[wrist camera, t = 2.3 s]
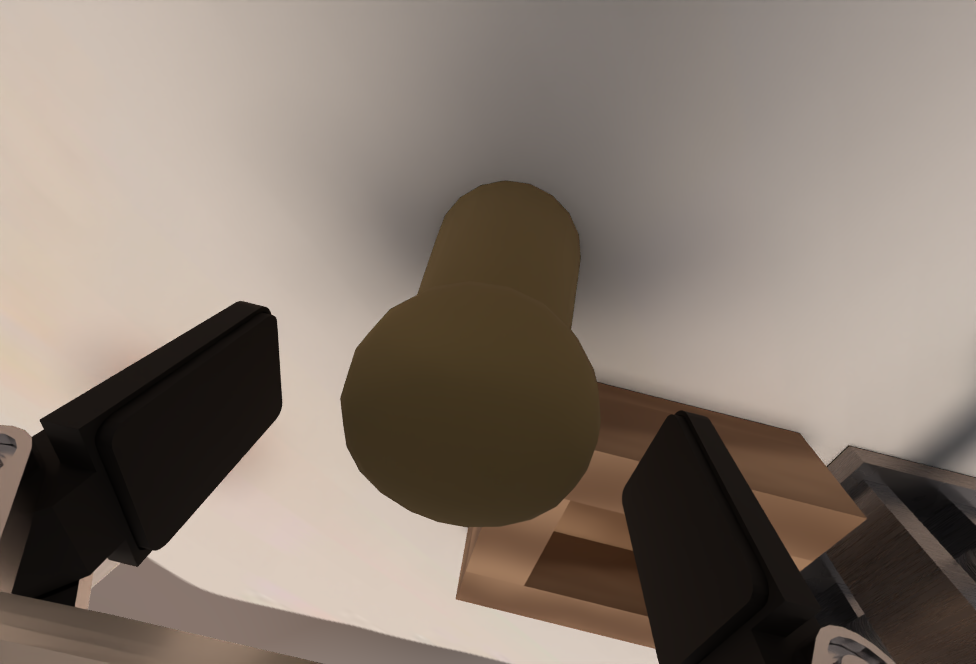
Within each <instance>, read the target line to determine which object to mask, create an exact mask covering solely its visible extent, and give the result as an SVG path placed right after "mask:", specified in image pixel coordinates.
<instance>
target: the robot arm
mask: <svg viewBox="0 0 976 664" xmlns="http://www.w3.org/2000/svg"><path fill="white" fill-rule="evenodd" d="M281 408H282V391H281V375H280V359H279V344H278V328H277V319H276V317H275V316H273V315H271V312H270V310H269V309H268V308H267V307H264V306H260V305H256V304H252V303H248V302H244V301H239V302H236V303H234V304H233V305H231V306H229V307H228V308H226V309H224V310H223V311H221V312H219V313H218V314H216V315H214V316H213V317H211V318H209V319H207V320H206V321H204V322H202V323H201V324H199V325H197V326H196V327H194V328H192V329H191V330H189V331H187V332H186V333H184V334H182V335H181V336H179V337H177V338H176V339H174V340H172V341H171V342H169V343H167V344H166V345H164V346H162V347H161V348H159V349H157V350H156V351H154V352H152V353H151V354H149V355H147V356H146V357H144V358H142V359H141V360H139V361H137V362H135V363H134V364H132V365H130V366H129V367H127V368H125V369H124V370H122V371H120V372H119V373H117V374H115V375H114V376H112V377H110V378H109V379H107V380H105V381H104V382H102V383H100V384H99V385H97V386H95V387H94V388H92V389H90V390H89V391H87V392H85V393H84V394H82V395H80V396H79V397H77V398H75V399H74V400H72V401H70V402H69V403H67V404H65V405H63V406H62V407H60V408H58V409H57V410H55V411H53V412H52V413H50V414H48V415H47V416H45V417H43V418H42V419H40V422H41V424H42V426H43V428H44V430H42V431H41V432H39V433H37V434H36V435H34V436H33V437H31V436H30V435H29V434H28V433H27V432H26V431H25V430H23V429H20V428H17V427H14V426H5V425H0V664H321V663H318V662H314V661H309V660H305V659H301V658H297V657H292V656H288V655H284V654H279V653H275V652H271V651H267V650H262V649H258V648H254V647H249V646H245V645H240V644H236V643H232V642H228V641H223V640H219V639H215V638H210V637H206V636H202V635H197V634H193V633H189V632H184V631H180V630H175V629H171V628H167V627H163V626H158V625H154V624H149V623H145V622H141V621H137V620H132V619H128V618H124V617H119V616H115V615H110V614H106V613H101V612H96V611H92V610H88V606H89V599H90V593H91V586H92V579H93V573H94V571H95V570H96V569H97V568H98V567H99V566H100V565H101V564H102V563H103V562H104V561H105V560H106V559H107V558H108V560H111V561H115V562H120V563H124V564H128V565H132V566H136V567H138V566H139V565H140V564H141V563H142V561H143V560H144V559H145V558H146V557H147V556H148V555H149V554H150V553H151V551H152V550H155V551H156V550H159V549H161V548H162V547H163V546H165V545H166V544H167V543H168V542H169V541H170V540H171V538H172V537H173V536H174V535H175V534H176V533H177V532H178V531H179V529H180V528H181V527H182V526H183V525H184V524H185V523H186V521H187V520H188V519H189V518H190V517H191V516H192V515H193V513H194V512H195V511H196V510H197V509H198V508H199V507H200V505H201V504H202V503H203V502H204V501H205V500H206V499H207V497H208V496H209V495H210V494H211V493H212V492H213V491H214V489H215V488H216V487H217V486H218V485H219V484H220V483H221V481H222V480H223V479H224V478H225V477H226V476H227V475H228V473H229V472H230V471H231V470H232V469H233V468H234V467H235V466H236V464H237V463H238V462H239V461H240V460H241V459H242V458H243V456H244V455H245V454H246V453H247V452H248V451H249V450H250V448H251V447H252V446H253V445H254V444H255V443H256V442H257V440H258V439H259V438H260V437H261V436H262V435H263V434H264V432H265V431H266V430H267V429H268V428H269V427H270V426H271V424H272V423H273V422H274V421H275V420H276V419H277V417H278V416H279V414H280V411H281ZM622 505H623V509H624V514H625V518H626V522H627V527H628V531H629V535H630V540H631V544H632V549H633V553H634V557H635V562H636V566H637V570H638V575H639V579H640V583H641V588H642V592H643V597H644V601H645V605H646V610H647V614H648V618H649V623H650V627H651V631H652V636H653V640H654V645H655V649H656V653H657V658H658V661H659V664H895V662H894V661H893V660H891V659H890V658H889V657H888V656H887V655H886V654H884V653H883V652H882V651H881V650H880V649H879V648H878V647H876V646H875V645H874V644H872V643H871V642H869V641H868V640H866V639H865V638H863V637H862V636H860V635H859V634H857V633H855V632H852V631H850V630H848V629H846V628H844V627H839V626H832V625H828V626H826V627H823V628H821V627H820V625H819V623H818V621H817V620H816V618H815V615H816V614H817V613H819V612H820V611H821V610H822V608H821V607H820V605H819V603H818V602H817V600H816V598H815V597H814V595H813V593H812V592H811V590H810V588H809V586H808V585H807V583H806V581H805V580H804V578H803V576H802V575H801V573H800V571H799V570H798V568H797V566H796V564H795V563H794V561H793V559H792V558H791V556H790V554H789V553H788V551H787V549H786V548H785V546H784V544H783V542H782V541H781V539H780V537H779V536H778V534H777V532H776V531H775V529H774V527H773V526H772V524H771V522H770V520H769V519H768V517H767V515H766V514H765V512H764V510H763V509H762V507H761V505H760V504H759V502H758V500H757V498H756V497H755V495H754V493H753V492H752V490H751V488H750V487H749V485H748V483H747V482H746V480H745V478H744V476H743V475H742V473H741V471H740V470H739V468H738V466H737V465H736V463H735V461H734V460H733V458H732V456H731V454H730V453H729V451H728V449H727V448H726V446H725V444H724V443H723V441H722V439H721V438H720V436H719V434H718V432H717V431H716V429H715V427H714V426H713V424H712V422H711V421H710V419H709V418H708V417H706V416H703V415H699V414H695V413H691V412H687V411H683V410H681V411H678V412H676V413H675V415H673V414H670V415H669V416H667V418H666V419H665V421H664V422H663V424H662V426H661V427H660V429H659V431H658V432H657V434H656V436H655V437H654V439H653V441H652V442H651V444H650V446H649V447H648V449H647V450H646V452H645V454H644V455H643V457H642V459H641V460H640V462H639V464H638V465H637V467H636V469H635V470H634V472H633V474H632V475H631V477H630V478H629V480H628V482H627V483H626V485H625V487H624V489H623V492H622Z"/></svg>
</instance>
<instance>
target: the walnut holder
mask: <svg viewBox="0 0 976 664" xmlns="http://www.w3.org/2000/svg"><path fill="white" fill-rule="evenodd" d="M597 385H598V390H599V403H600V416H601V424H600V430H599V436H598V442H597V445H596V448H595V450H594V453H593V456H592V458H591V461H590V464H589V466H588V469H587V471H586V473H585V474H584V475H583V477H582V478H581V480H580V481H579V482H578V484H577V485H576V487H575V488H574V489H573V490H572V491H571V492H570V493H569V494H568V495H567V496H566V497H565V498H564V499H563V500H562V501H561V502H560V503H559V505H558V506H557V507H555V508H553V509H551V510H549V511H547V512H545V513H543V514H541V515H539V516H537V517H536V518H534V519H532V520H528V521H524V522H519V523H515V524H510V525H506V526H501V527H468V532H467V537H466V543H465V549H464V554H463V560H462V566H461V571H460V577H459V583H458V588H457V594H456V599H457V600H461V601H465V602H469V603H473V604H477V605H481V606H485V607H489V608H493V609H497V610H501V611H505V612H509V613H513V614H517V615H521V616H525V617H529V618H533V619H538V620H542V621H546V622H550V623H554V624H558V625H562V626H566V627H570V628H574V629H578V630H582V631H586V632H590V633H594V634H598V635H602V636H606V637H610V638H614V639H618V640H622V641H626V642H630V643H634V644H638V645H642V646H646V647H650V648H654V649H655V645H654V640H653V636H652V631H651V627H650V623H649V618H648V614H647V610H646V605H645V601H644V597H643V592H642V588H641V583H640V579H639V575H638V570H637V566H636V562H635V557H634V553H633V549H632V544H631V540H630V535H629V531H628V527H627V522H626V518H625V514H624V509H623V505H622V492H623V489H624V487H625V485H626V483H627V482H628V480H629V478H630V477H631V475H632V474H633V472H634V470H635V469H636V467H637V465H638V464H639V462H640V460H641V459H642V457H643V455H644V454H645V452H646V450H647V449H648V447H649V446H650V444H651V442H652V441H653V439H654V437H655V436H656V434H657V432H658V431H659V429H660V427H661V426H662V424H663V422H664V421H665V419H666V418H667V416H669V415H670V414H673V415H675V413H676V412H678V411H681V410H683V411H687V412H691V413H695V414H699V415H703V416H706V417H708V418H709V419H710V421H711V422H712V424H713V426H714V427H715V429H716V431H717V432H718V434H719V436H720V438H721V439H722V441H723V443H724V444H725V446H726V448H727V449H728V451H729V453H730V454H731V456H732V458H733V460H734V461H735V463H736V465H737V466H738V468H739V470H740V471H741V473H742V475H743V476H744V478H745V480H746V482H747V483H748V485H749V487H750V488H751V490H752V492H753V493H754V495H755V497H756V498H757V500H758V502H759V504H760V505H761V507H762V509H763V510H764V512H765V514H766V515H767V517H768V519H769V520H770V522H771V524H772V526H773V527H774V529H775V531H776V532H777V534H778V536H779V537H780V539H781V541H782V542H783V544H784V546H785V548H786V549H787V551H788V553H789V554H790V556H791V558H792V559H793V561H794V563H795V564H796V566H797V568H798V570H799V571H801V570H803V569H804V568H805V567H806V566H808V565H809V564H810V563H811V562H813V561H814V560H815V559H817V558H818V557H819V556H820V555H822V554H823V553H824V552H825V551H827V550H828V549H829V548H831V547H832V546H833V545H834V544H836V543H837V542H838V541H839V540H841V539H842V538H843V537H845V536H846V535H847V534H848V533H850V532H851V531H852V530H853V529H855V528H856V527H857V526H859V525H860V524H861V523H862V522H864V521H865V520H866V519H867V518H866V516H865V515H864V514H863V513H862V511H861V510H860V509H859V508H858V506H857V505H856V504H855V502H854V501H853V500H852V499H851V497H850V496H849V495H848V494H847V492H846V491H845V490H844V489H843V487H842V486H841V485H840V484H839V482H838V481H837V480H836V478H835V477H834V476H833V475H832V473H831V472H830V471H829V470H828V468H827V467H826V466H825V465H824V463H823V462H822V461H821V459H820V458H819V457H818V456H817V454H816V453H815V452H814V451H813V449H812V448H811V447H810V446H809V444H808V443H807V442H806V440H805V439H804V438H803V437H802V435H801V434H800V433H796V432H792V431H788V430H784V429H780V428H776V427H772V426H768V425H764V424H760V423H756V422H752V421H748V420H745V419H741V418H737V417H733V416H729V415H725V414H721V413H717V412H713V411H709V410H705V409H701V408H697V407H693V406H689V405H685V404H681V403H677V402H673V401H669V400H665V399H661V398H657V397H653V396H649V395H645V394H641V393H637V392H634V391H630V390H626V389H622V388H618V387H614V386H610V385H606V384H602V383H598V382H597Z"/></svg>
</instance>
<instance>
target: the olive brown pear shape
mask: <svg viewBox="0 0 976 664" xmlns="http://www.w3.org/2000/svg"><path fill="white" fill-rule="evenodd" d="M580 259H581V255H580V243H579V234H578V232H577V230H576V227H575V225H574V223H573V221H572V219H571V216H570V214H569V213H568V212H567V210H566V209H565V208H564V207H563V206H562V205H561V204H560V203H559V202H558V201H557V200H556V199H555V198H554V197H553V196H552V195H550V194H548V193H546V192H544V191H543V190H541V189H539V188H537V187H535V186H533V185H531V184H526V183H519V182H512V181H500V182H495V183H490V184H485V185H481V186H479V187H477V188H476V189H474V190H472V191H470V192H469V193H467V194H465V195H464V196H462V197H460V198H459V200H458V201H457V202H456V203H455V204H454V205H453V207H452V208H451V209H450V210H449V211H448V212H447V214H446V215H445V217H444V220H443V222H442V225H441V227H440V230H439V233H438V235H437V238H436V241H435V244H434V247H433V250H432V253H431V256H430V259H429V262H428V264H427V267H426V270H425V273H424V276H423V279H422V282H421V285H420V288H419V291H418V294H417V295H416V296H414V297H412V298H411V299H409V300H407V301H405V302H403V303H401V304H399V305H397V306H395V307H393V308H391V309H390V310H389V311H388V312H387V313H386V314H385V315H384V317H383V318H382V319H381V320H380V321H379V322H378V323H377V324H376V325H375V327H374V328H373V329H372V330H371V331H370V332H369V333H368V334H367V336H366V337H365V338H364V339H363V341H362V342H361V343H360V344H359V346H358V347H357V348H356V350H355V353H354V356H353V359H352V362H351V365H350V368H349V372H348V375H347V378H346V381H345V384H344V388H343V391H342V394H341V398H340V400H341V409H342V417H343V426H344V433H345V439H346V446H347V448H348V450H349V452H350V454H351V456H352V458H353V459H354V461H355V463H356V465H357V467H358V469H359V471H360V472H361V473H362V474H363V475H364V476H365V477H366V478H367V479H368V480H369V481H370V482H371V483H372V484H373V485H374V486H375V487H376V488H377V489H378V490H379V491H380V492H381V493H382V494H384V495H385V496H387V497H388V498H390V499H392V500H393V501H395V502H396V503H398V504H399V505H401V506H403V507H404V508H406V509H407V510H409V511H411V512H413V513H416V514H419V515H421V516H424V517H426V518H429V519H432V520H434V521H437V522H441V523H447V524H452V525H457V526H463V527H501V526H506V525H510V524H515V523H519V522H524V521H528V520H532V519H534V518H536V517H537V516H539V515H541V514H543V513H545V512H547V511H549V510H551V509H553V508H555V507H557V506H558V505H559V503H560V502H561V501H562V500H563V499H564V498H565V497H566V496H567V495H568V494H569V493H570V492H571V491H572V490H573V489H574V488H575V487H576V485H577V484H578V482H579V481H580V480H581V478H582V477H583V475H584V474H585V473H586V471H587V469H588V466H589V464H590V461H591V458H592V456H593V453H594V450H595V448H596V445H597V442H598V436H599V430H600V424H601V416H600V403H599V390H598V385H597V381H596V376H595V372H594V369H593V367H592V365H591V363H590V361H589V359H588V358H587V356H586V354H585V352H584V350H583V348H582V346H581V344H580V342H579V340H578V338H577V337H576V336H575V334H574V333H573V332H572V330H571V326H572V319H573V311H574V304H575V296H576V289H577V281H578V274H579V266H580Z"/></svg>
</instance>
